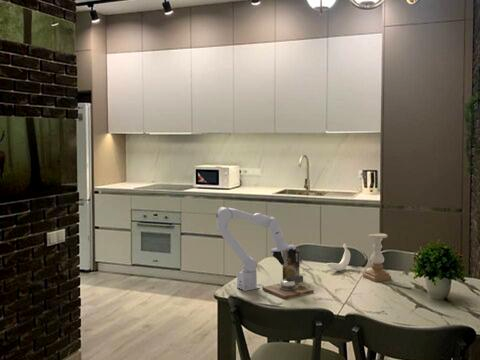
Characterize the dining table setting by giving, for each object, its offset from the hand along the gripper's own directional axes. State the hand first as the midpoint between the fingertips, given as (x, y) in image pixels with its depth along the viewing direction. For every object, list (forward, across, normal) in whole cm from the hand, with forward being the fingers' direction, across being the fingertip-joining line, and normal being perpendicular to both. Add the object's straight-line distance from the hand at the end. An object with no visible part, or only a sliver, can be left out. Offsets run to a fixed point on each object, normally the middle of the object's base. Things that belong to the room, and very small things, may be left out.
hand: (289, 263), depth 266 cm
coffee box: (+12, +9, -7) cm, 17 cm away
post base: (+10, -2, +12) cm, 15 cm away
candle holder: (+30, -26, -33) cm, 51 cm away
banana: (+24, -2, -38) cm, 45 cm away
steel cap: (+8, -3, +9) cm, 12 cm away
